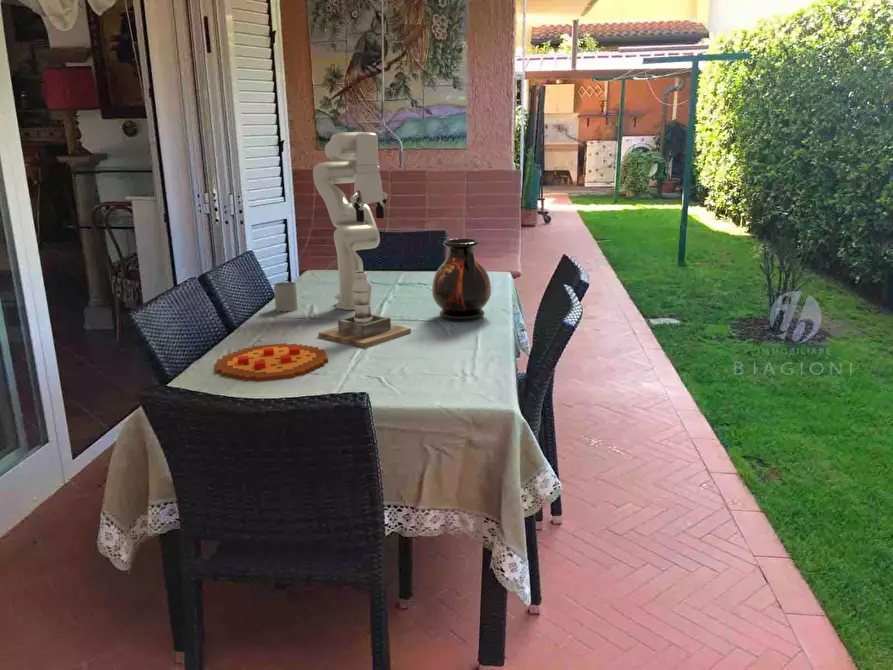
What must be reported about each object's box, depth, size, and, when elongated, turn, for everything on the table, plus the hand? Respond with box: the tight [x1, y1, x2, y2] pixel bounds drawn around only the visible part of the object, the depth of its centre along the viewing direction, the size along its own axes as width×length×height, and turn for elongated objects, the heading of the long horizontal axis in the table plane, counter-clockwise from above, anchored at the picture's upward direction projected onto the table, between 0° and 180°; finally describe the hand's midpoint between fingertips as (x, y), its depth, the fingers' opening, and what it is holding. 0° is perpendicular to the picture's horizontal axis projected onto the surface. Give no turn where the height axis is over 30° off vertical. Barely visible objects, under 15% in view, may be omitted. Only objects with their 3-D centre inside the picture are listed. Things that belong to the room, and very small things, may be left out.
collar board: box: [317, 313, 412, 349], centre depth 246 cm, size 22×22×6 cm
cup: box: [273, 281, 299, 313], centre depth 282 cm, size 8×8×10 cm
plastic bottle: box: [352, 270, 373, 324], centre depth 243 cm, size 6×7×20 cm
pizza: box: [216, 342, 329, 382], centre depth 219 cm, size 32×32×3 cm
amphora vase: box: [431, 238, 492, 323], centre depth 264 cm, size 22×22×28 cm
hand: (370, 219), depth 255 cm, fingers open, 9 cm apart
